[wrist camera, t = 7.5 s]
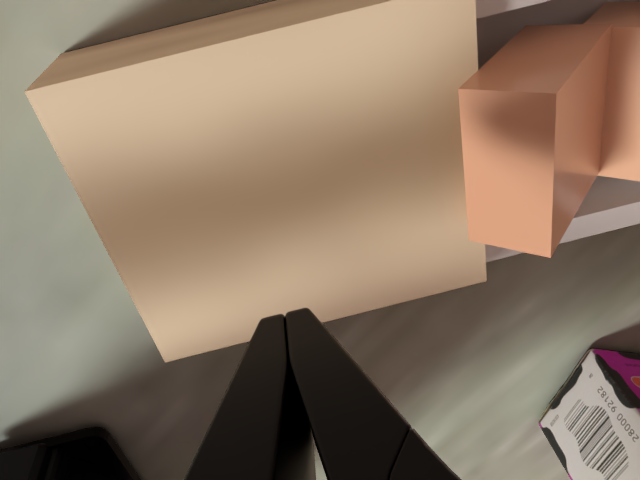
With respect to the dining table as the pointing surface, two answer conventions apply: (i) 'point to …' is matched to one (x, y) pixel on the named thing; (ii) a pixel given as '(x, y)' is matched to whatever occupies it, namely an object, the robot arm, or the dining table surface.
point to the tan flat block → (273, 161)
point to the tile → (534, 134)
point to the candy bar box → (598, 418)
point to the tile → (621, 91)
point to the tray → (606, 192)
